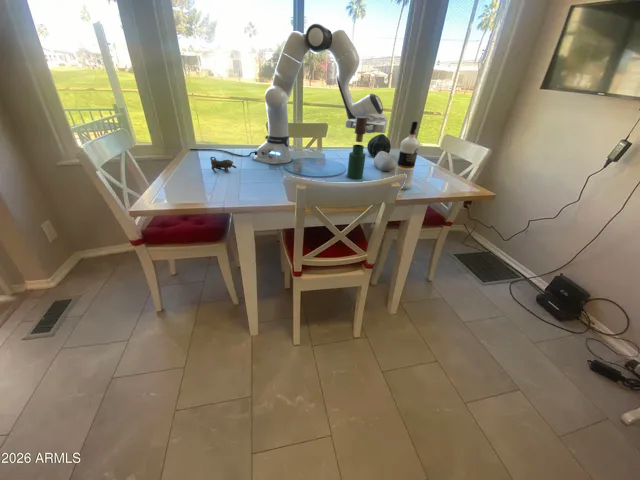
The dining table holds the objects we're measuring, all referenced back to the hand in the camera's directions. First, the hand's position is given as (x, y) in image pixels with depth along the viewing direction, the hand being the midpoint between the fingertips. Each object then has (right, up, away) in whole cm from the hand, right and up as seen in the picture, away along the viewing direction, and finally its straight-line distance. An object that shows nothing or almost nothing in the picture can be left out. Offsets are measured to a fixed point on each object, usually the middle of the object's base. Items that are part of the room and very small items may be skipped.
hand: (359, 127), depth 129 cm
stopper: (0, -5, +4) cm, 7 cm away
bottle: (-1, -20, +14) cm, 25 cm away
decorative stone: (+18, -12, +29) cm, 36 cm away
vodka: (+21, -27, +5) cm, 35 cm away
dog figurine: (-69, -18, +12) cm, 72 cm away
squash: (+20, +2, +52) cm, 55 cm away
